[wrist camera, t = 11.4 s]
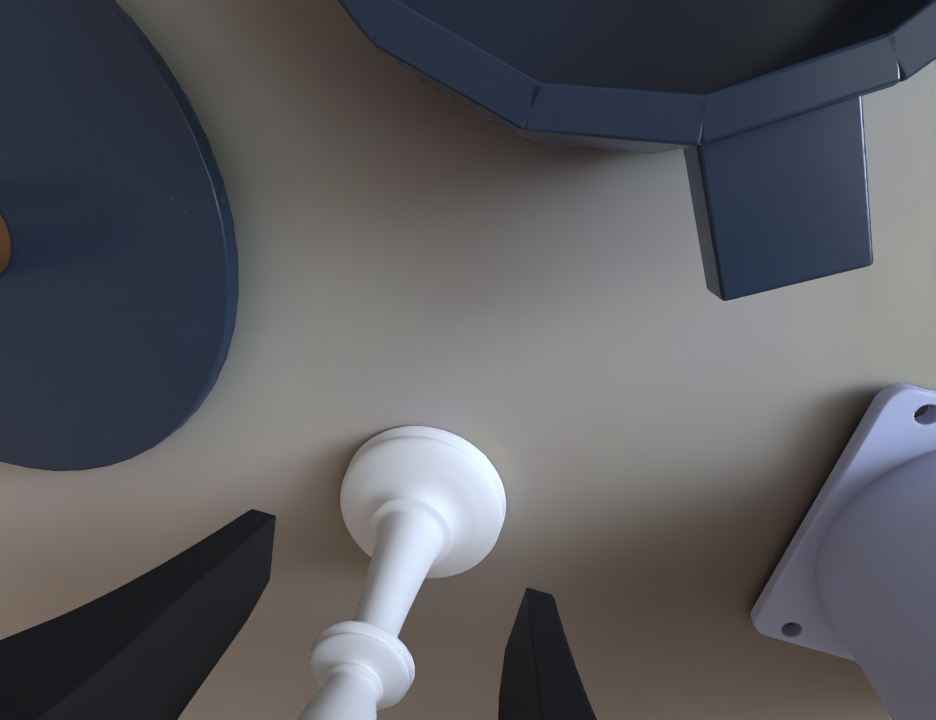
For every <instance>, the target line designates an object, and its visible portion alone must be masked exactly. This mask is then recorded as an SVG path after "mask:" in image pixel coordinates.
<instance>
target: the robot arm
mask: <svg viewBox="0 0 936 720" xmlns="http://www.w3.org/2000/svg"><path fill="white" fill-rule="evenodd" d="M926 404H928V409H927V411H926V412H925V413H924V414H923V415H920V416H918V417H914V414H915V411H916V410H918V409H919V408H920V407H921V406H924V405H926ZM275 520H276V516H275V515H271V514H268V513H264V512H261V511H257V510H254V509H252V510H250V511H248V512H246V513H245V514H243V515H241V516H240V517H238V518H237V519H235V520H233V521H232V522H230V523H229V524H227V525H226V526H224V527H222V528H221V529H219V530H218V531H216V532H215V533H213V534H211V535H210V536H208V537H207V538H205V539H203V540H202V541H200V542H199V543H197V544H195V545H194V546H192V547H190V548H189V549H187V550H185V551H184V552H182V553H180V554H179V555H177V556H175V557H174V558H172V559H170V560H169V561H167V562H165V563H163V564H162V565H160V566H158V567H156V568H155V569H153V570H151V571H149V572H147V573H145V574H144V575H142V576H140V577H138V578H136V579H134V580H133V581H131V582H129V583H127V584H125V585H123V586H122V587H120V588H118V589H116V590H114V591H112V592H110V593H108V594H106V595H104V596H102V597H100V598H98V599H96V600H94V601H92V602H89V603H87V604H85V605H83V606H81V607H79V608H77V609H74V610H72V611H70V612H68V613H66V614H63V615H61V616H59V617H56V618H54V619H52V620H49V621H47V622H44V623H42V624H39V625H37V626H34V627H32V628H29V629H27V630H24V631H22V632H19V633H17V634H14V635H12V636H10V637H7V638H5V639H2V640H0V720H177V719H178V718H179V716H180V715H181V713H182V712H183V710H184V709H185V707H186V706H187V705H188V703H189V702H190V700H191V699H192V697H193V696H194V695H195V693H196V692H197V690H198V689H199V688H200V686H201V685H202V683H203V682H204V681H205V679H206V678H207V676H208V675H209V674H210V672H211V671H212V669H213V668H214V667H215V665H216V664H217V662H218V661H219V660H220V658H221V657H222V655H223V654H224V653H225V651H226V650H227V648H228V647H229V645H230V644H231V643H232V641H233V640H234V638H235V637H236V635H237V634H238V633H239V631H240V630H241V628H242V627H243V625H244V624H245V622H246V621H247V619H248V618H249V616H250V614H251V612H252V611H253V609H254V607H255V605H256V604H257V602H258V600H259V598H260V596H261V595H262V593H263V591H264V589H265V587H266V585H267V583H268V582H269V580H270V571H271V561H272V551H273V541H274V530H275ZM750 616H751V620H752V622H753V624H754V627H755V629H756V630H757V631H758V632H759V633H761V634H763V635H765V636H768V637H772V638H775V639H779V640H782V641H786V642H789V643H793V644H796V645H800V646H803V647H807V648H810V649H814V650H818V651H821V652H825V653H828V654H832V655H835V656H839V657H842V658H846V659H849V660H853V661H856V662H857V663H858V664H859V666H860V668H861V669H862V671H863V672H864V674H865V676H866V677H867V679H868V680H869V682H870V683H871V685H872V687H873V688H874V690H875V691H876V693H877V694H878V696H879V698H880V699H881V701H882V702H883V704H884V706H885V707H886V709H887V710H888V712H889V713H890V715H891V717H892V718H893V720H936V391H932V390H928V389H924V388H920V387H916V386H912V385H908V384H894V385H890V386H887V387H886V388H884V389H882V390H881V391H880V392H879V393H878V394H877V395H876V396H875V397H874V399H873V401H872V403H871V404H870V406H869V408H868V410H867V411H866V413H865V415H864V416H863V418H862V420H861V422H860V423H859V425H858V427H857V429H856V430H855V432H854V434H853V436H852V437H851V439H850V441H849V442H848V444H847V446H846V448H845V449H844V451H843V453H842V455H841V456H840V458H839V460H838V461H837V463H836V465H835V467H834V468H833V470H832V472H831V474H830V475H829V477H828V479H827V480H826V482H825V484H824V486H823V487H822V489H821V491H820V493H819V494H818V496H817V498H816V499H815V501H814V503H813V505H812V506H811V508H810V510H809V512H808V513H807V515H806V517H805V518H804V520H803V522H802V524H801V525H800V527H799V529H798V531H797V532H796V534H795V536H794V538H793V539H792V541H791V543H790V544H789V546H788V548H787V550H786V551H785V553H784V555H783V557H782V558H781V560H780V562H779V563H778V565H777V567H776V569H775V570H774V572H773V574H772V576H771V577H770V579H769V581H768V582H767V584H766V586H765V588H764V589H763V591H762V593H761V595H760V596H759V598H758V600H757V601H756V603H755V605H754V607H753V608H752V610H751V614H750ZM790 622H791V623H792V624H789V625H785V624H787V623H790ZM498 720H597V719H596V716H595V714H594V712H593V709H592V707H591V704H590V702H589V699H588V697H587V695H586V692H585V689H584V687H583V684H582V681H581V679H580V676H579V673H578V671H577V668H576V665H575V663H574V660H573V657H572V654H571V651H570V648H569V645H568V642H567V639H566V636H565V633H564V630H563V626H562V623H561V620H560V616H559V612H558V609H557V605H556V601H555V599H554V597H553V595H551V594H548V593H544V592H541V591H537V590H534V589H530V588H526V591H525V594H524V597H523V600H522V602H521V605H520V608H519V611H518V614H517V617H516V620H515V623H514V625H513V628H512V631H511V634H510V637H509V640H508V643H507V646H506V648H505V655H504V663H503V670H502V677H501V685H500V693H499V713H498Z"/></svg>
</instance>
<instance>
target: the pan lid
mask: <svg viewBox="0 0 936 720" xmlns="http://www.w3.org/2000/svg"><path fill="white" fill-rule="evenodd" d="M237 302H238V255H237V248H236V240H235V233H234V225H233V219H232V215H231V211H230V207H229V203H228V199H227V195H226V191H225V187H224V183H223V180H222V177H221V174H220V171H219V169H218V166H217V163H216V161H215V158H214V155H213V152H212V150H211V147H210V144H209V141H208V139H207V137H206V135H205V133H204V131H203V129H202V127H201V125H200V123H199V121H198V119H197V117H196V115H195V112H194V110H193V108H192V106H191V104H190V102H189V100H188V98H187V97H186V95H185V93H184V92H183V90H182V89H181V87H180V85H179V84H178V82H177V81H176V79H175V77H174V76H173V74H172V73H171V71H170V69H169V68H168V66H167V65H166V63H165V61H164V60H163V58H162V57H161V56H160V54H159V53H158V52H157V50H156V49H155V48H154V47H153V45H152V44H151V43H150V41H149V40H148V39H147V37H146V36H145V35H144V34H143V32H142V31H141V30H140V28H139V27H138V26H137V25H136V23H135V22H134V21H133V19H132V18H131V17H130V16H129V15H128V14H127V13H126V12H125V11H124V10H123V9H122V8H121V7H120V6H119V5H118V4H117V3H116V2H115V1H114V0H0V461H1V462H5V463H10V464H14V465H18V466H23V467H27V468H35V469H44V470H53V471H68V470H86V469H92V468H99V467H105V466H109V465H112V464H116V463H119V462H122V461H125V460H128V459H131V458H133V457H135V456H137V455H139V454H141V453H143V452H145V451H147V450H149V449H151V448H153V447H154V446H156V445H157V444H159V443H160V442H161V441H163V440H164V439H165V438H167V437H168V436H169V435H171V434H172V433H173V432H175V431H176V430H177V429H179V428H180V427H181V426H183V424H184V423H185V422H186V421H187V420H188V419H189V418H190V417H191V416H192V415H193V414H194V413H195V412H196V411H197V409H198V408H199V407H200V406H201V404H202V403H203V401H204V400H205V398H206V397H207V395H208V394H209V392H210V391H211V389H212V388H213V386H214V385H215V382H216V380H217V378H218V375H219V373H220V371H221V369H222V366H223V364H224V362H225V360H226V357H227V353H228V350H229V346H230V342H231V339H232V335H233V331H234V327H235V319H236V310H237Z"/></svg>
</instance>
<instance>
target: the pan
mask: <svg viewBox="0 0 936 720" xmlns="http://www.w3.org/2000/svg"><path fill="white" fill-rule="evenodd" d="M338 1H339V3H340V4H341V5H342V7H343V8H344V9H345V10H346V12H347V13H348V14H349V16H350V17H351V18H352V20H353V21H354V22H355V23H356V25H357V26H358V27H359V29H360V30H361V31H362V32H363V34H364V35H365V36H366V38H367V39H368V40H369V41H370V42H371V43H372V44H373V45H374V46H375V47H376V48H378V49H379V50H380V51H382V52H383V53H385V54H386V55H387V56H389V57H390V58H392V59H393V60H394V61H396V62H397V63H398V64H400V65H401V66H403V67H404V68H405V69H407V70H408V71H409V72H411V73H412V74H414V75H415V76H416V77H418V78H419V79H420V80H422V81H423V82H425V83H427V84H428V85H430V86H432V87H434V88H435V89H437V90H439V91H441V92H442V93H444V94H446V95H448V96H449V97H451V98H453V99H455V100H456V101H458V102H460V103H462V104H463V105H465V106H467V107H469V108H470V109H472V110H474V111H475V112H477V113H478V114H480V115H482V116H484V117H486V118H488V119H490V120H491V121H493V122H495V123H497V124H498V125H500V126H502V127H504V128H506V129H507V130H509V131H511V132H513V133H514V134H516V135H518V136H520V137H521V138H523V139H525V140H527V141H531V142H533V143H542V144H553V145H564V146H575V147H581V148H588V149H609V150H620V151H631V152H642V153H658V152H665V151H671V150H677V149H683V148H684V154H685V160H686V166H687V172H688V178H689V184H690V190H691V196H692V202H693V208H694V214H695V220H696V225H697V231H698V237H699V243H700V249H701V255H702V261H703V267H704V273H705V279H706V285H707V288H708V290H709V291H710V292H712V293H713V294H715V295H716V296H717V297H719V298H720V299H721V300H723V301H728V300H732V299H736V298H740V297H744V296H748V295H752V294H756V293H760V292H764V291H769V290H773V289H777V288H781V287H785V286H789V285H793V284H797V283H801V282H805V281H809V280H814V279H818V278H822V277H826V276H830V275H834V274H838V273H842V272H846V271H850V270H854V269H858V268H863V267H867V266H869V265H871V264H872V263H873V252H872V238H871V223H870V208H869V194H868V179H867V164H866V149H865V135H864V120H863V105H862V96H863V95H866V94H869V93H872V92H875V91H879V90H882V89H885V88H888V87H891V86H894V85H895V84H897V83H898V82H901V81H904V80H907V79H908V78H910V77H911V76H913V75H914V74H915V73H917V72H918V71H920V70H921V69H922V68H924V67H925V66H927V65H928V64H929V63H931V62H932V61H934V60H935V59H936V0H338Z"/></svg>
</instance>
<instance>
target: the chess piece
mask: <svg viewBox="0 0 936 720" xmlns="http://www.w3.org/2000/svg"><path fill="white" fill-rule="evenodd" d="M340 506H341V512H342V516H343V519H344V522H345V525H346V527H347V529H348V531H349V533H350V534H351V536H352V537H353V539H354V540H355V542H356V543H357V544H358V545H359V546H360V548H361V549H362V550H363V551H364V552H365V553H367V554H368V555H369V556H370V557H371V562H370V566H369V569H368V573H367V577H366V580H365V584H364V587H363V591H362V595H361V598H360V601H359V604H358V607H357V611H356V614H355V617H354V620H353V621H344V622H338V623H335V624H332V625H330V626H328V627H326V628H325V629H323V630H322V631H321V632H320V633H319V634H318V635H317V637H316V638H315V640H314V642H313V645H312V654H311V658H310V668H311V672H312V675H313V677H314V679H315V681H316V682H317V684H318V685H319V686H320V688H321V690H320V692H319V693H318V694H317V695H316V696H315V697H314V698H313V699H312V700H311V701H310V702H309V703H308V705H307V706H306V707H305V709H304V710H303V712H302V713H301V715H300V716H299V717H298V718H297V720H377V716H376V710H381V709H386V708H389V707H391V706H393V705H395V704H397V703H398V702H399V701H400V700H402V698H403V697H404V696H405V694H406V692H407V690H408V689H409V688H410V687H411V685H412V683H413V680H414V676H415V666H414V661H413V658H412V656H411V654H410V652H409V651H408V649H407V648H406V646H405V645H404V644H403V643H402V642H401V641H400V640H399V639H398V638H397V637H398V635H399V633H400V630H401V628H402V626H403V623H404V621H405V618H406V616H407V614H408V612H409V610H410V608H411V605H412V603H413V601H414V599H415V597H416V595H417V593H418V591H419V589H420V587H421V585H422V583H423V581H424V579H425V578H443V577H449V576H453V575H457V574H460V573H462V572H465V571H467V570H469V569H471V568H472V567H474V566H475V565H477V564H478V563H479V562H481V561H482V560H483V559H484V558H485V557H486V556H487V555H488V554H489V552H490V551H491V550H492V548H493V547H494V545H495V543H496V541H497V539H498V536H499V533H500V530H501V528H502V525H503V522H504V519H505V513H506V497H505V491H504V487H503V484H502V482H501V479H500V477H499V475H498V473H497V471H496V470H495V468H494V466H493V465H492V464H491V462H490V461H489V460H488V459H487V458H486V456H485V455H484V454H483V453H482V452H481V451H479V450H478V449H477V448H476V447H475V446H473V445H472V444H471V443H469V442H468V441H466V440H464V439H463V438H461V437H459V436H457V435H455V434H452V433H450V432H447V431H444V430H441V429H437V428H432V427H426V426H404V427H398V428H394V429H390V430H387V431H384V432H382V433H380V434H378V435H376V436H374V437H373V438H371V439H370V440H368V441H367V442H366V443H365V444H363V445H362V446H361V447H360V448H359V450H358V451H357V452H356V453H355V455H354V456H353V458H352V460H351V462H350V464H349V466H348V469H347V472H346V474H345V477H344V479H343V482H342V486H341V492H340Z"/></svg>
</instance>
